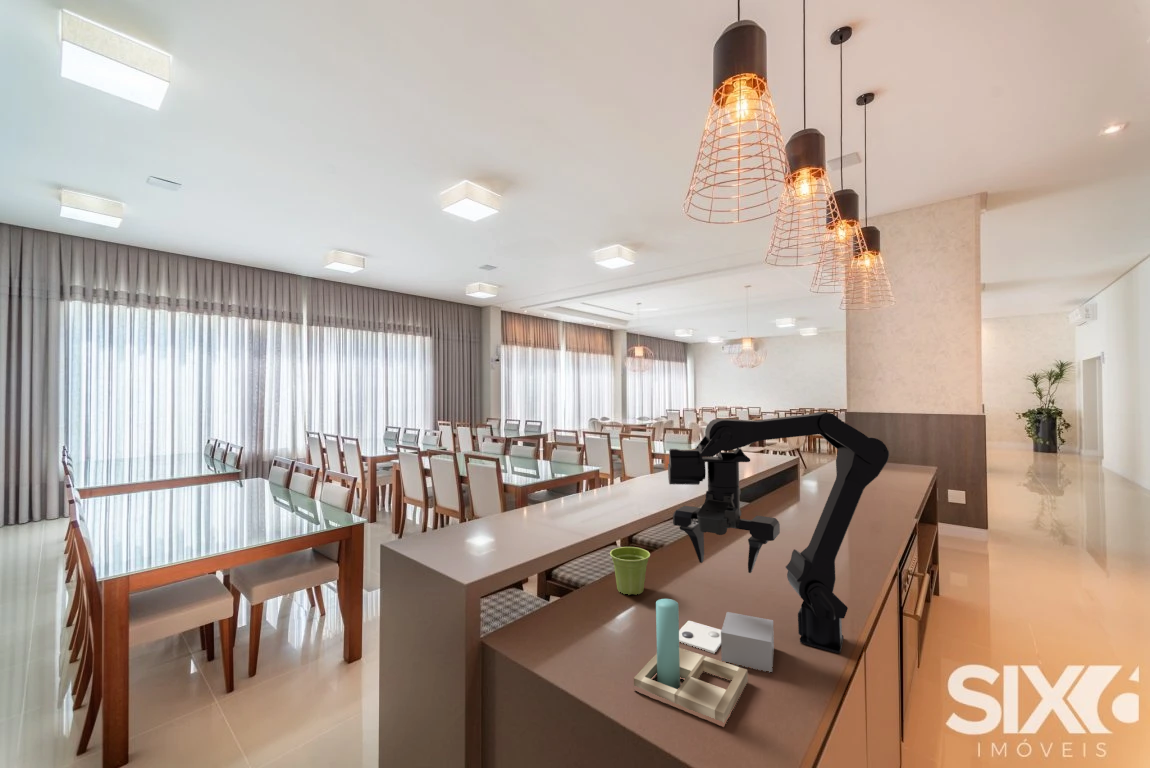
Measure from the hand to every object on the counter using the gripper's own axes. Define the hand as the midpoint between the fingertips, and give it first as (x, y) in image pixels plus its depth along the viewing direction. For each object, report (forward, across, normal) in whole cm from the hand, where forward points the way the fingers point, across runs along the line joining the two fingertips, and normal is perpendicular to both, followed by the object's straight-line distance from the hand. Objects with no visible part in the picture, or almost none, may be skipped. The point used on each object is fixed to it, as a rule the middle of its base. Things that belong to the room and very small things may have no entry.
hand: (725, 567), depth 87 cm
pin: (+13, -3, -20) cm, 24 cm away
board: (+13, 0, -18) cm, 22 cm away
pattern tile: (+13, -4, -3) cm, 14 cm away
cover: (+13, +5, -4) cm, 14 cm away
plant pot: (+13, -25, +8) cm, 29 cm away
